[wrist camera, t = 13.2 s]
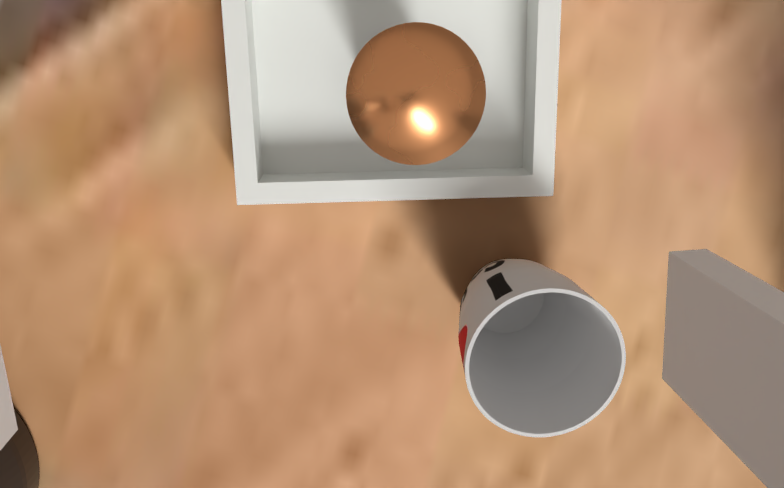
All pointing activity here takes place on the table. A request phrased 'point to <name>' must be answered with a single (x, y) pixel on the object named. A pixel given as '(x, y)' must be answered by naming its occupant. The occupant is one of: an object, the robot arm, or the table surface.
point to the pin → (415, 93)
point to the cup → (537, 349)
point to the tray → (330, 114)
